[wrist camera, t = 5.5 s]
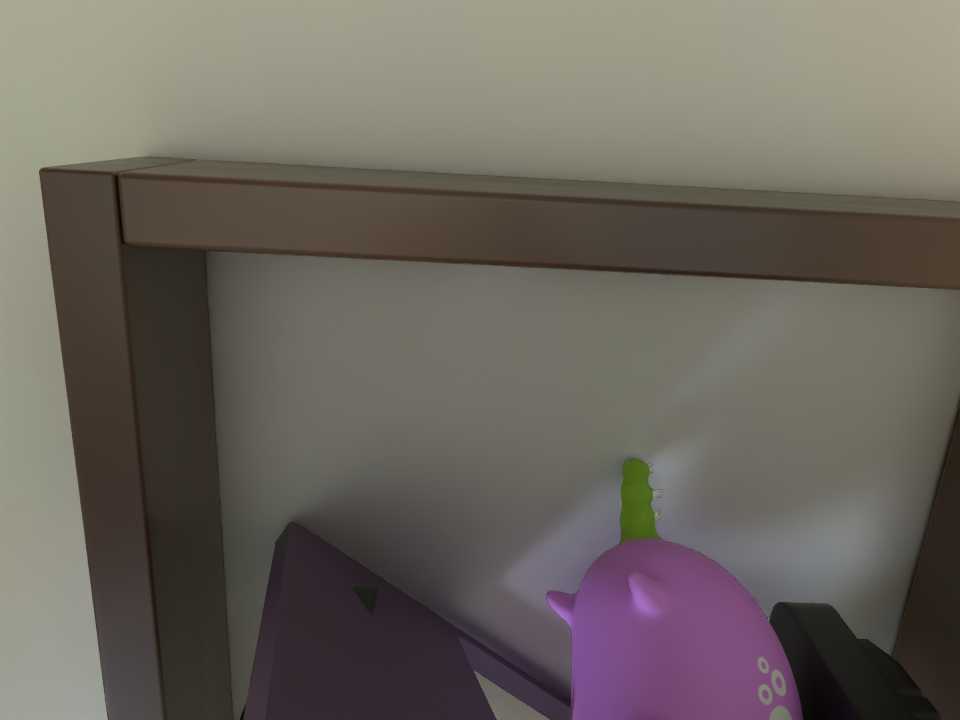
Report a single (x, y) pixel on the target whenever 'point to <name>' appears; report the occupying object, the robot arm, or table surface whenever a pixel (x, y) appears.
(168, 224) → the brown square frame
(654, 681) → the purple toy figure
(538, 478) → the table surface
